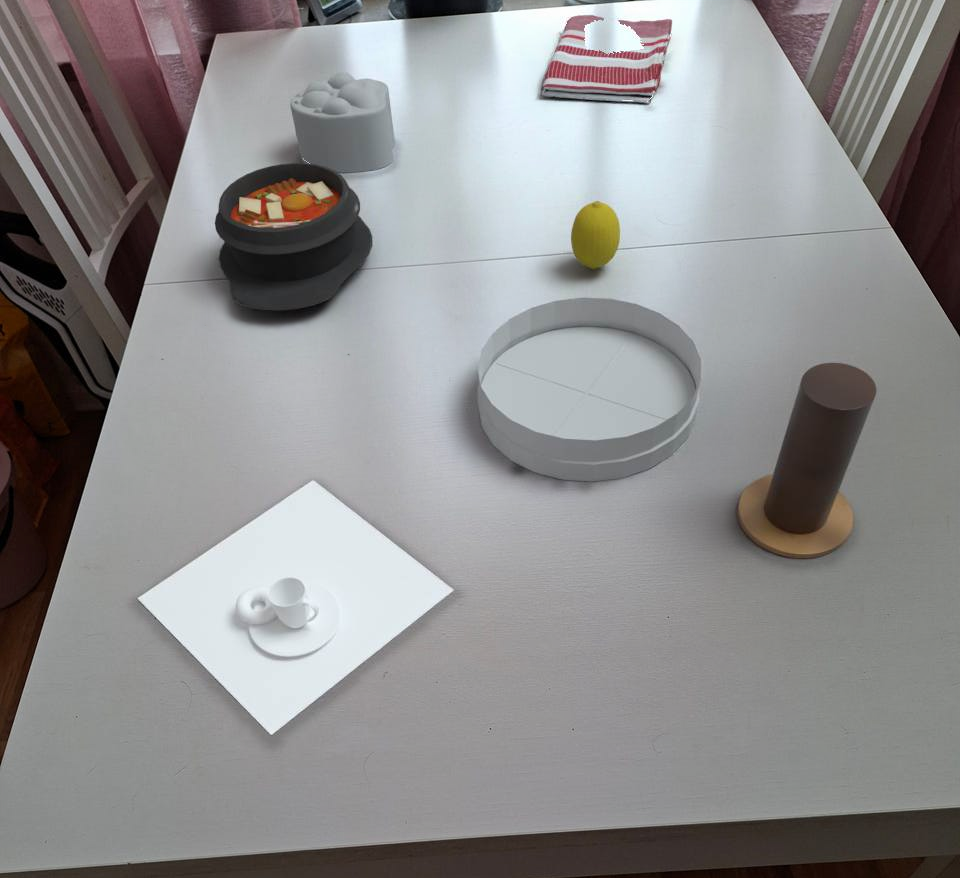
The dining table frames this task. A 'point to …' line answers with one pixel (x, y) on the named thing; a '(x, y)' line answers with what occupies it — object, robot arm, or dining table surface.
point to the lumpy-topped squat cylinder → (344, 124)
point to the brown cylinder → (818, 446)
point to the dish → (588, 388)
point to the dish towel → (607, 64)
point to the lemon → (595, 234)
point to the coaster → (791, 543)
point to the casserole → (290, 236)
